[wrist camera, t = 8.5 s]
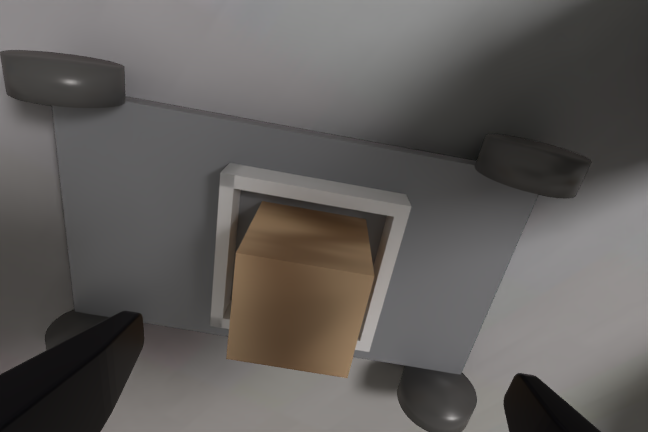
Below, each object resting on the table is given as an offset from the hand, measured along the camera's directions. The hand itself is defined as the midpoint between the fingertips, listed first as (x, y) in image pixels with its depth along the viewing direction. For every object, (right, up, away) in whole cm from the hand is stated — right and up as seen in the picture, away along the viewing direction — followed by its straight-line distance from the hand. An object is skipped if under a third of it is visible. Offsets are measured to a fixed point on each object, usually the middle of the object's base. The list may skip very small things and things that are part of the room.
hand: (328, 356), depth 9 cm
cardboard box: (-1, +1, +10) cm, 10 cm away
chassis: (-2, +2, +11) cm, 11 cm away
